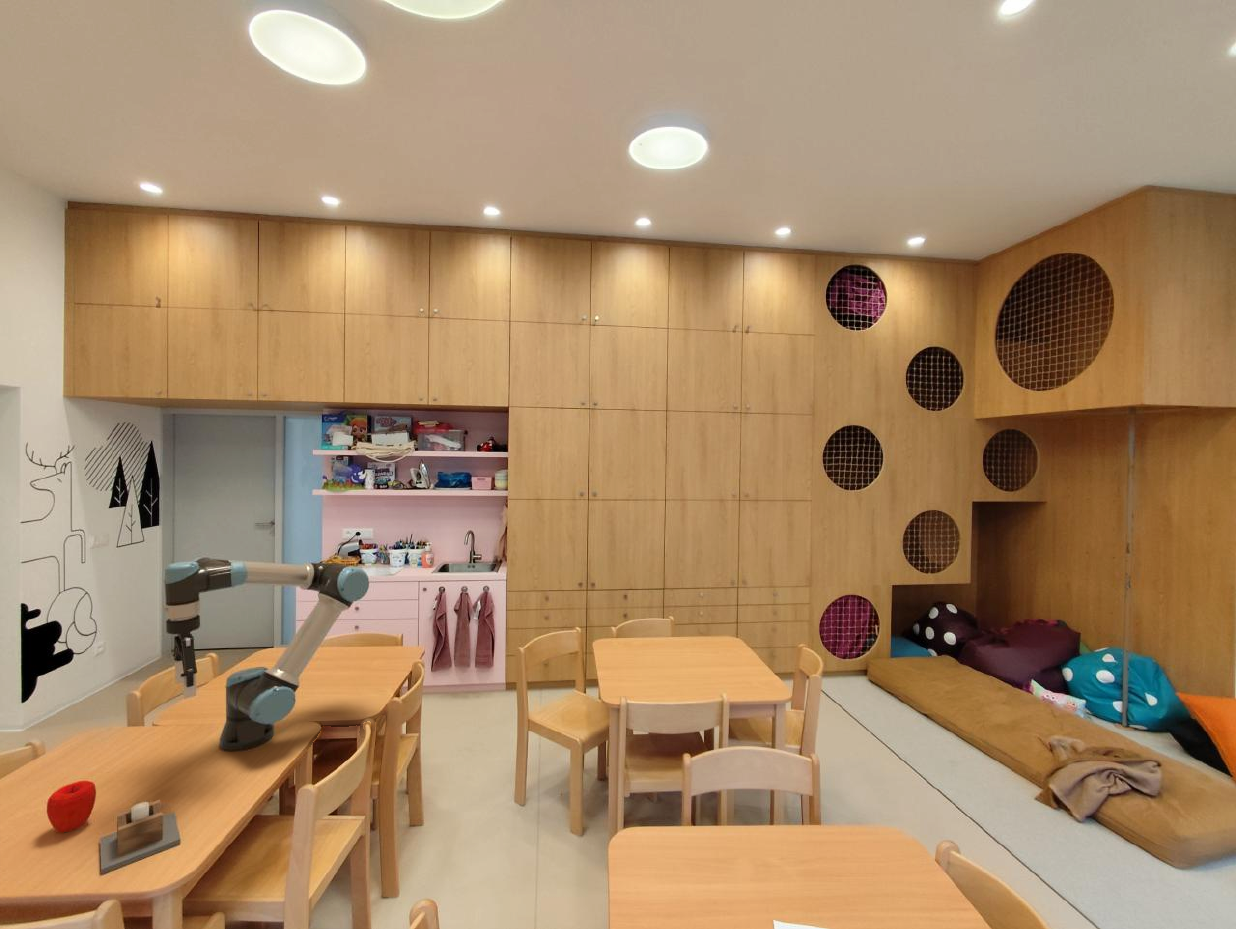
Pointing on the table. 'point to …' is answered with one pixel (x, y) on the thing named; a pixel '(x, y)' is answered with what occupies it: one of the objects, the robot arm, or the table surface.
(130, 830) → the frame
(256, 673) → the robot arm
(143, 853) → the stand
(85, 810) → the apple
